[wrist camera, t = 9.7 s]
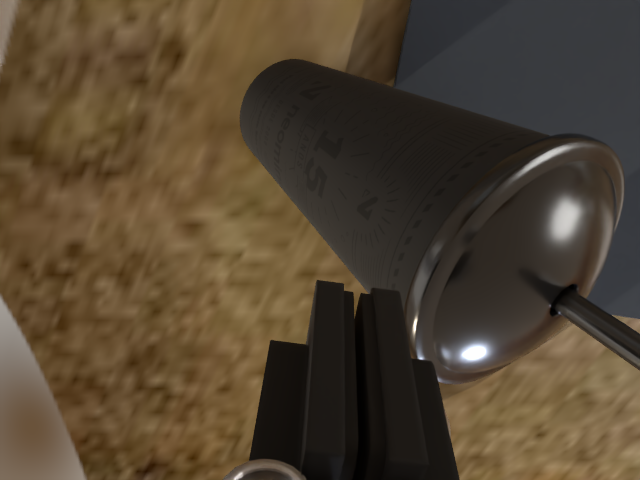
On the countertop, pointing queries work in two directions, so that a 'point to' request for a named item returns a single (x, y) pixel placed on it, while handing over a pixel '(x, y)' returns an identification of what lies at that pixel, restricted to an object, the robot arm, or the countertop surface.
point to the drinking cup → (446, 212)
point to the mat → (543, 89)
